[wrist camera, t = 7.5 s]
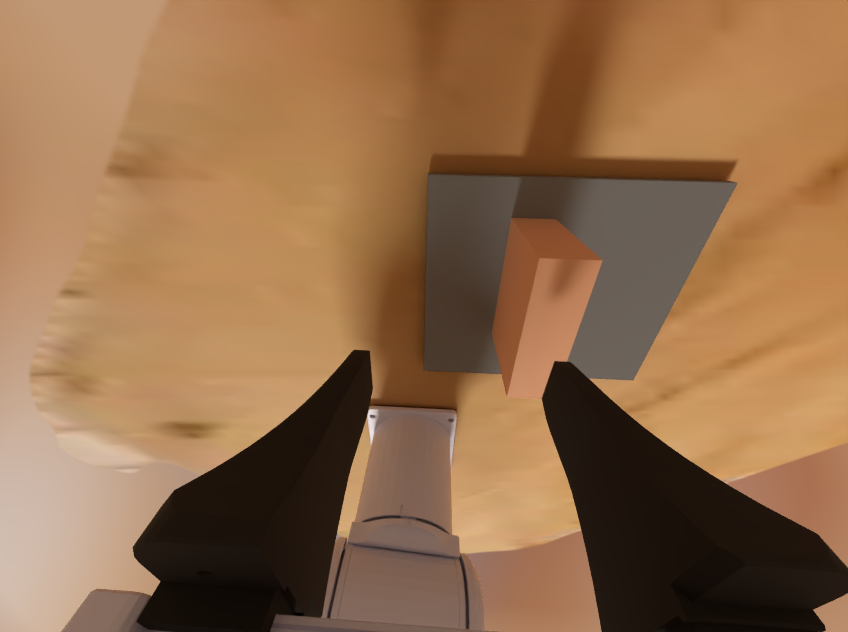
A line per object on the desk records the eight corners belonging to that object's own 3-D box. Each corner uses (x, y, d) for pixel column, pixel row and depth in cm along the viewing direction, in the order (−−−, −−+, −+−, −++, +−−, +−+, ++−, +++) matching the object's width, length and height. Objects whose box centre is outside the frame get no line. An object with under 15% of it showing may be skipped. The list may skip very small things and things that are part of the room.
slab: (527, 334, 22) (553, 399, 17) (491, 332, 22) (507, 397, 17) (555, 219, 17) (602, 260, 12) (511, 217, 17) (539, 258, 12)
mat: (629, 374, 24) (633, 380, 23) (424, 365, 24) (423, 370, 24) (728, 181, 16) (737, 182, 16) (428, 173, 17) (428, 174, 16)
